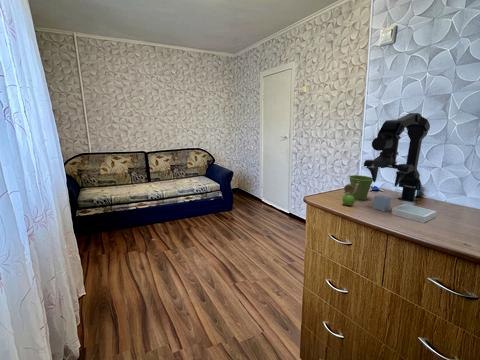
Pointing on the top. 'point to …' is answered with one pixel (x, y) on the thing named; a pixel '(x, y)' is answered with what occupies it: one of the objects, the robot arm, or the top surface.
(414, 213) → the base
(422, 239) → the top surface
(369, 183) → the plant pot
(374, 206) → the block
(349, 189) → the snail figurine
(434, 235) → the top surface
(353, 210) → the top surface
